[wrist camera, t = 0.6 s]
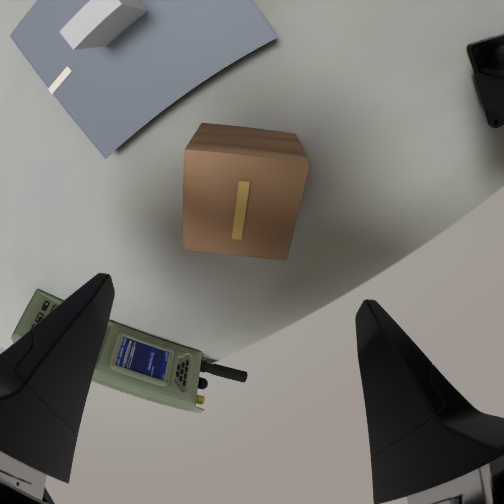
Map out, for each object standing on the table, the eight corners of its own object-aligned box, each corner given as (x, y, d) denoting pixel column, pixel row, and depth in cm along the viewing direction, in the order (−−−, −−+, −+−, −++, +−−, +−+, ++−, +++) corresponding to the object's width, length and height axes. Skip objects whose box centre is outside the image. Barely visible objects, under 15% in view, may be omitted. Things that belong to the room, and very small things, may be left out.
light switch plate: (162, -90, 7) (136, -122, 3) (275, 38, 13) (285, 33, 9) (23, 33, 11) (-27, 42, 7) (115, 150, 17) (79, 184, 13)
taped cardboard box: (201, 123, 17) (184, 151, 12) (295, 134, 17) (310, 166, 13) (196, 204, 20) (182, 252, 16) (279, 213, 20) (286, 262, 16)
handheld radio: (36, 283, 25) (253, 361, 32) (39, 300, 27) (240, 372, 34) (9, 333, 20) (252, 416, 27) (15, 348, 22) (238, 424, 29)
